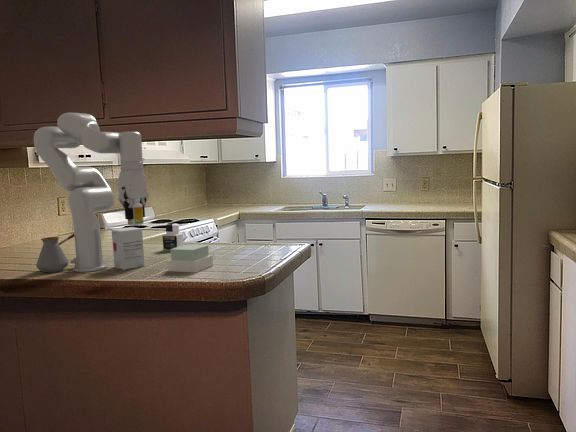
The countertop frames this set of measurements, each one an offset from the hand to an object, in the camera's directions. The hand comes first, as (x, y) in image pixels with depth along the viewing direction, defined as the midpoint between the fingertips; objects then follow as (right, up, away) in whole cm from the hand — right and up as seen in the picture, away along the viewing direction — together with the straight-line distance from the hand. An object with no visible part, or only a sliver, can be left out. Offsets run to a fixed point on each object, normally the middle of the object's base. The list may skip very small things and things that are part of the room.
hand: (135, 217), depth 178 cm
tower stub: (+18, -19, +9) cm, 28 cm away
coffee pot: (-34, -20, +20) cm, 44 cm away
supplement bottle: (0, -3, 0) cm, 3 cm away
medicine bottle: (+1, -15, +55) cm, 57 cm away
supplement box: (-8, -19, +17) cm, 27 cm away
